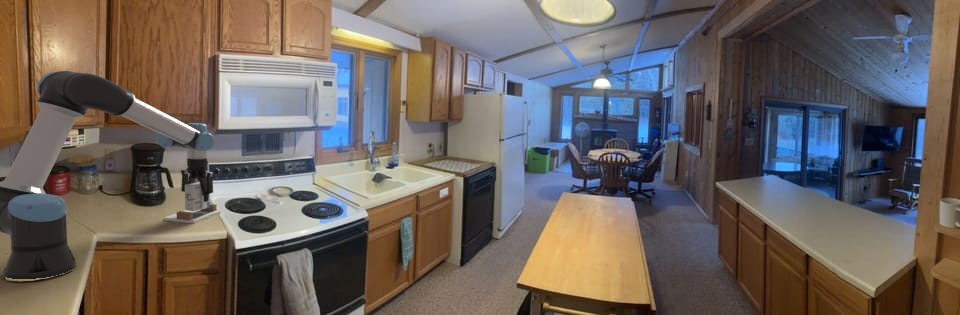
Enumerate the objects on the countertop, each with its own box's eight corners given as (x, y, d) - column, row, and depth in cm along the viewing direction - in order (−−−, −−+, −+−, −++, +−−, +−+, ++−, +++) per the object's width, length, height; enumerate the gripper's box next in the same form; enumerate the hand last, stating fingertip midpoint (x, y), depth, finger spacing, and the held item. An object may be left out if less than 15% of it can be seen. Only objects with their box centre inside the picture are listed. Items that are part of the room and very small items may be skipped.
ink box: (201, 205, 193) (201, 180, 191) (210, 207, 192) (210, 182, 190) (184, 209, 185) (184, 183, 183) (193, 211, 183) (193, 185, 182)
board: (194, 223, 180) (194, 214, 179) (163, 220, 180) (163, 211, 180) (220, 213, 197) (220, 204, 196) (192, 210, 197) (192, 201, 197)
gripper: (223, 158, 188) (222, 207, 191) (183, 154, 189) (183, 203, 192) (211, 160, 181) (211, 211, 184) (170, 156, 182) (171, 207, 185)
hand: (197, 207), depth 188 cm, fingers closed on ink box, 6 cm apart
